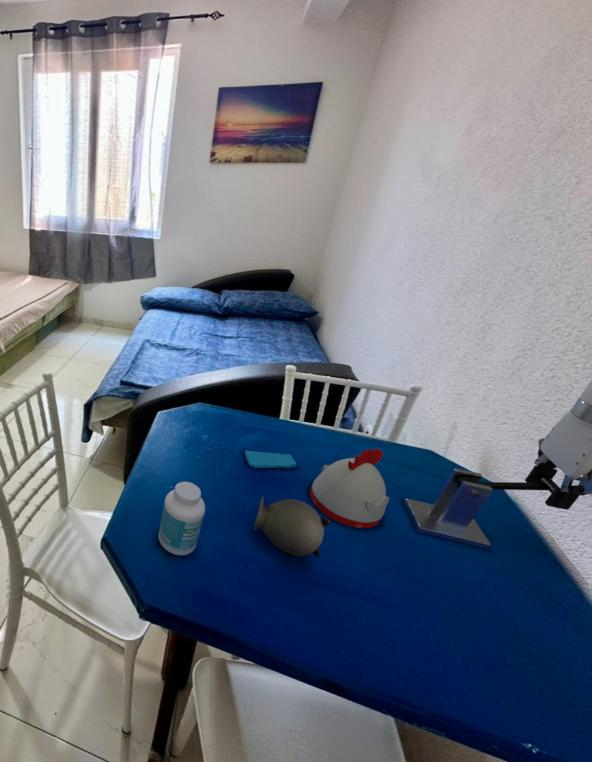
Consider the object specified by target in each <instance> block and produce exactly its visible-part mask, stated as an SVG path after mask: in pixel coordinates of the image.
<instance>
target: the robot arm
mask: <svg viewBox="0 0 592 762" xmlns="http://www.w3.org/2000/svg"><path fill="white" fill-rule="evenodd" d="M537 443H538V450H537V458H536V459H535V460H534V466H533V468H531V470H530V472H529V473H528V474H527V476H526V477H525V479H524V481H525V483H541V482H540V481H539V480H538V476H539V475H541V474H546V475H548V476H549V477H550V478H551V479H552V480H553V479H554V478H555V476H556V474H557V473H558V469H559V470H560V471H561V472H562V473H563V474H564V477H563V479H562V483H561V485H560V488H557V487H556V488H555V490H554V491H553V492H552V493H551V492H550V495H549V496H548V498H547V499H546V500H545V501H544V504H545V505H546V506H547V507H551V508H555V509H556V508H557V509H561V510H565V511H566V510H570V509H571V507H572V506H573V504H574V503H575V502H576V501H577V500H578V498H579V497H580V496H583V497H585V496H586V495H592V379H590V381H589V383H588V384H587V386H586V387H585V388H584V390H583V391H582V392H581V394H580V395H579V397H578V398H577V399H576V401H575V402H574V404H573V405H572V407H571V408H570V409H569V410H568V411H567V412H566V413H565V414H564V415H563V416H562V417H561V418H560V419H559V420H557V422H556V423H555V424H554V425H553V427H551V429H550V431H549V432H548V433H547V435H545V437H543V438H540V439H538V442H537ZM557 468H558V469H557ZM574 481H578V484H574V485H573V483H574Z"/></svg>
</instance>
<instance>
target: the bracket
mask: <svg viewBox="0 0 592 762" xmlns="http://www.w3.org/2000/svg"><path fill="white" fill-rule="evenodd" d="M458 477H476V478H477V480H478V481H479V482H481V480H482V478H483V474H482V473H480V472H475V471H470V470H465V469H461V468H453V469H452V472H451V473H450V475H449V477H448V478H447V480H446V481H445V483H444V484H443V486H442V487H441V488H440V491H439V493H438V494H437V496H436V498H435V499H434V501H433V502H432V503H428V502H423V501H419V500H416V499H411V498H405V499H404V501H403V503H404V506H405V508H406V509H407V512H408V514H409V516H410V518H411V520H412V522H413V525H414V527H415V529H416V530H417V532H418V533H420V534H425V535H428V536H433V537H438V538H441V539H446V540H449V541H453V542H458V543H462V544H465V545H470V546H474V547H477V548H482V549H486V550H489V549H490V548H491V546H492V545H491V543H490V541H489V539H488V538H487V537H486V535H485V534H484V532H483V530H482V529H481V528H480V526H479V524H478V523H477V521H476V520H475V517H476V515H477V514H478V513H479V512H480V510H481V508H482V507H483V505H484V504H485V502H486V501H487V500H488V498H489V497H490V495H491V494H492V492H493V491H494V490H493V489H492V488H491V487H490V486H485V485H480V484H476V483H471V482H466V481H463V482H462V484H461V485H460V487H459V489H458V487H457V482H458Z"/></svg>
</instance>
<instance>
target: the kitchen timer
mask: <svg viewBox="0 0 592 762" xmlns="http://www.w3.org/2000/svg"><path fill="white" fill-rule="evenodd" d="M384 455H385V453H383V452H382V451H381V449H379V447H376V448H375V449H374V450H373V449H371V448H369V449H368V451H367V450H366V449H363V451H362V452H361V454H360V456H359V455H358V454H356V455H355V457H349V458H344V459H339V460H336V461H335V462H333V463H331V464H328V465H327V464H324V466H323V467H322V468H321V472H320V473H319V474H318V476H317V477H315V479H314V481H313V482H312V484H311V487H310V489H309V490H310V491H309V496H310V498H311V499H310V500H311V501H312V503H313V504H314V506H315V507H317V509H318V510H320V511H321V512H322V513H323V514H324V515H326V516H327V517H329V519H332V520H334V521H336V522H338V523H340V524H342V525H346V526H349V527H351V528H359V529H368V528H373V527H376V526H377V525H379V524H380V522H381V520H382V518H383V517H384V514H385V512H386V508H387V506H388V504H389V501H390V497H389V496H387V488H386V484H385V481H384V479H383V476H382V475H381V473H380V470H378V468H377V467H376V466H375V465H376V464H377V463H378V462H379V461H380V460H382V458H383V456H384Z"/></svg>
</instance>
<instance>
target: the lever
mask: <svg viewBox="0 0 592 762" xmlns="http://www.w3.org/2000/svg"><path fill="white" fill-rule="evenodd" d="M538 480H539V481H540V482H541V483H527V482H526V481H525V482H523V481H521V482H519V481H517V482H513V481H511V482H510V481H509V482H507V481H506V482H505V481H480V482H479V481H478V480H477V478H476V477H458V482H457V487H458V489H459V487H460V485H461V484H462V482H463V481H466V482H471V483H476V484H480V485H485V486H490V487H491V488H492V489H493V491H494V490H496V491H497V490H498V491H548V492H549V493H550V494H551V493H552V492H553V491H554V490H555V488H556V487H557V488H561V486H559V485H558V484H557V483H556V482H555V481H554V480H553V478H552V479H551V478H550V477H549V476H548V475H546V474H541V475H539V476H538Z"/></svg>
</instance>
